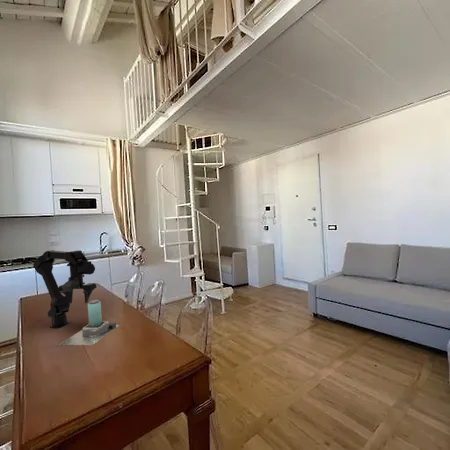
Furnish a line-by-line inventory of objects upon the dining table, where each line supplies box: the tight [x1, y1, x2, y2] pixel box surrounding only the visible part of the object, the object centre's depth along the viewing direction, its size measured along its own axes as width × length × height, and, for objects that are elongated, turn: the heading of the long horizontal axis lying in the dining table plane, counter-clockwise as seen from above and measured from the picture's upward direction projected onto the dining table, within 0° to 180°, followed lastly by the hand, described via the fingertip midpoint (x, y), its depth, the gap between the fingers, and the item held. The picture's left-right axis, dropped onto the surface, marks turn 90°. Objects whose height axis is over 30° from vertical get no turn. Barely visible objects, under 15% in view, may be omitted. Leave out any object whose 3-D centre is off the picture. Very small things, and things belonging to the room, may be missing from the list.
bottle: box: [87, 299, 103, 328], centre depth 130 cm, size 6×6×13 cm
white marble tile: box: [58, 320, 120, 346], centre depth 127 cm, size 17×22×5 cm
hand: (78, 303), depth 140 cm, fingers open, 9 cm apart
